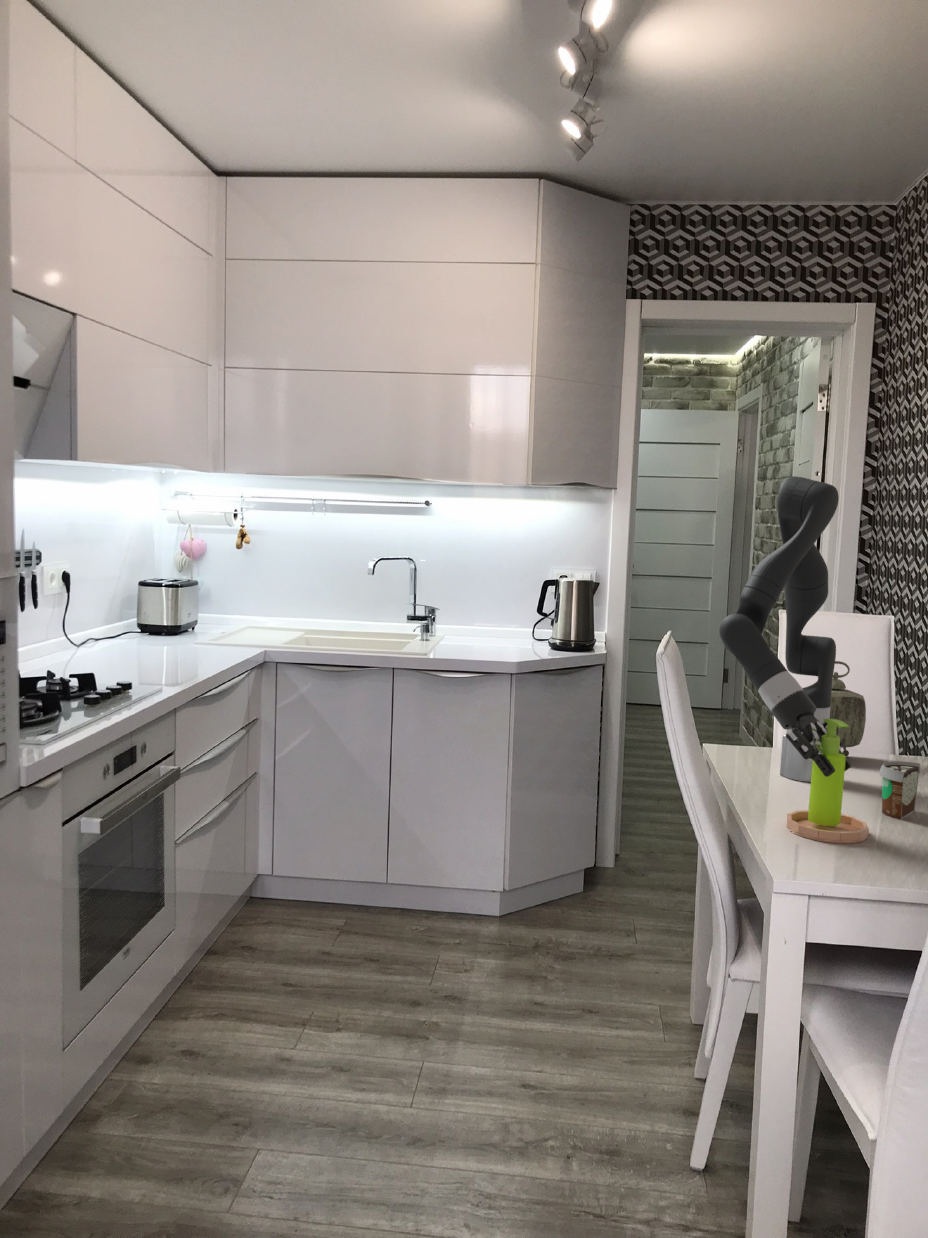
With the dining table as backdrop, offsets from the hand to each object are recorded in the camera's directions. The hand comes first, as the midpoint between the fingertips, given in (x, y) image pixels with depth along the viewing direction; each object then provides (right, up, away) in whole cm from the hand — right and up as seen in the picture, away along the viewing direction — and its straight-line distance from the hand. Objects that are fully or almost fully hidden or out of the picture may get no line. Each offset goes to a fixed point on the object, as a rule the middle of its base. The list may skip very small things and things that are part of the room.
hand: (839, 771), depth 195 cm
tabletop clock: (+22, -7, +67) cm, 71 cm away
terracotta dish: (-2, -12, +2) cm, 12 cm away
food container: (+18, -11, +18) cm, 28 cm away
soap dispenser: (-2, -10, +2) cm, 11 cm away
